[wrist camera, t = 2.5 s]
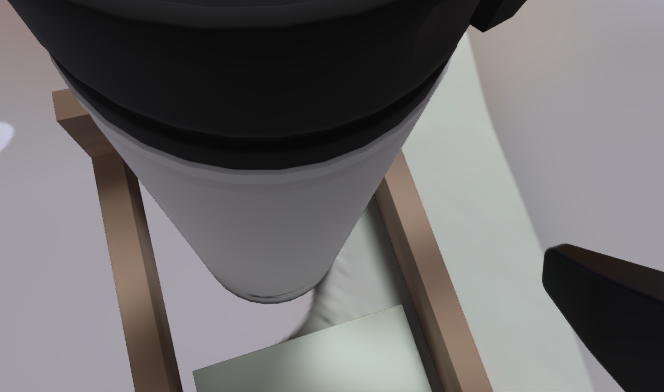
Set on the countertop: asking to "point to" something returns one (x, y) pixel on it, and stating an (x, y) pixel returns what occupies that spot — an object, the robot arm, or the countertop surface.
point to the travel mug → (258, 113)
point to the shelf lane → (303, 352)
